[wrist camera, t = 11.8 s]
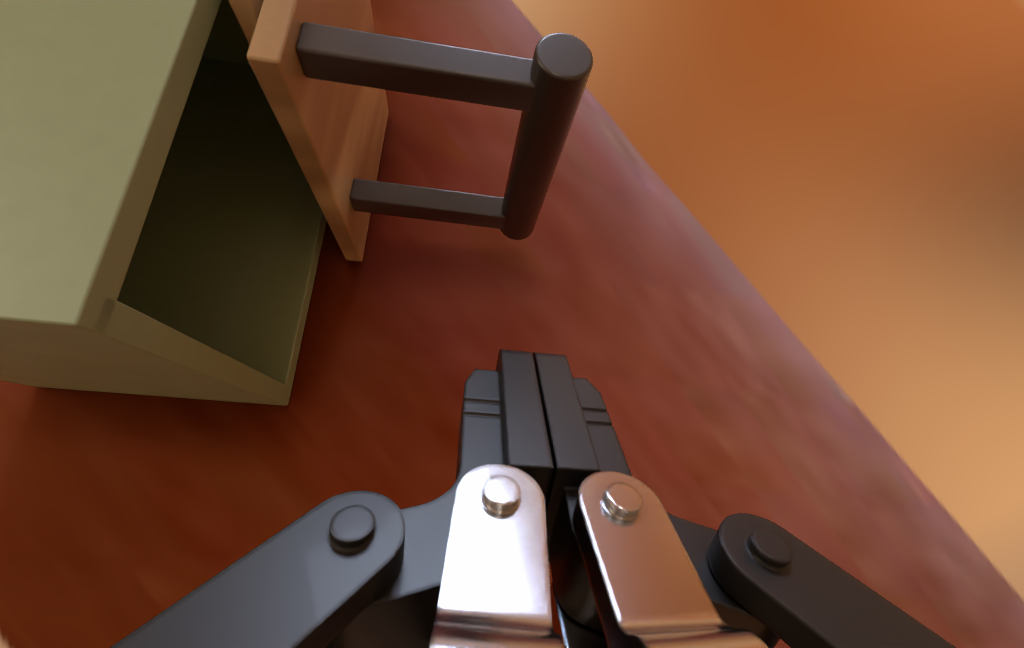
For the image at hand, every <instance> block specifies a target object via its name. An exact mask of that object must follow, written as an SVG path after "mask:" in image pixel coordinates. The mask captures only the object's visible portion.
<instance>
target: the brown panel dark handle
mask: <svg viewBox="0 0 1024 648" xmlns="http://www.w3.org/2000/svg"><path fill="white" fill-rule="evenodd" d="M247 60H248V62H249V64H250V66H251V68H252V70H253V72H254V74H255V76H256V78H257V80H258V82H259V84H260V86H261V88H262V90H263V92H264V94H265V96H266V98H267V100H268V102H269V105H270V107H271V109H272V111H273V113H274V115H275V117H276V119H277V121H278V123H279V125H280V127H281V129H282V131H283V133H284V135H285V137H286V139H287V141H288V143H289V145H290V147H291V149H292V151H293V153H294V155H295V157H296V159H297V161H298V163H299V165H300V168H301V170H302V172H303V174H304V176H305V178H306V180H307V182H308V184H309V186H310V188H311V190H312V192H313V194H314V196H315V198H316V200H317V202H318V204H319V206H320V208H321V210H322V212H323V214H324V216H325V218H326V220H327V222H328V224H329V226H330V228H331V231H332V233H333V235H334V237H335V239H336V241H337V243H338V245H339V247H340V249H341V251H342V253H343V255H344V257H345V259H346V260H350V261H359V262H361V261H362V260H363V254H364V249H365V243H366V237H367V232H368V226H369V220H370V215H371V213H376V214H384V215H392V216H401V217H409V218H417V219H425V220H433V221H441V222H450V223H458V224H466V225H474V226H482V227H490V228H499V229H501V231H502V232H503V234H504V235H505V236H507V237H508V238H511V239H514V240H521V239H524V238H527V237H528V236H529V235H530V234H531V233H532V231H533V229H534V226H535V224H536V221H537V218H538V215H539V213H540V210H541V207H542V204H543V202H544V199H545V196H546V193H547V191H548V188H549V185H550V182H551V180H552V177H553V174H554V171H555V169H556V166H557V163H558V160H559V158H560V155H561V152H562V149H563V147H564V144H565V141H566V138H567V136H568V133H569V130H570V127H571V125H572V122H573V119H574V116H575V114H576V111H577V108H578V105H579V103H580V100H581V97H582V94H583V92H584V89H585V86H586V83H587V81H588V77H589V75H590V72H591V69H592V66H593V57H592V53H591V51H590V49H589V48H588V47H587V45H586V44H585V43H584V42H583V41H582V40H580V39H578V38H577V37H575V36H573V35H570V34H565V33H554V34H550V35H547V36H545V37H544V38H542V39H541V40H540V41H539V43H538V44H537V46H536V48H535V51H534V56H533V59H528V58H522V57H516V56H510V55H504V54H498V53H491V52H485V51H479V50H473V49H467V48H461V47H455V46H449V45H443V44H437V43H431V42H425V41H419V40H413V39H407V38H400V37H394V36H388V35H382V34H376V31H375V25H374V19H373V13H372V7H371V1H370V0H264V1H263V4H262V7H261V10H260V13H259V17H258V20H257V23H256V26H255V30H254V33H253V36H252V39H251V42H250V46H249V49H248V52H247ZM385 90H390V91H397V92H403V93H410V94H417V95H423V96H430V97H436V98H443V99H449V100H456V101H463V102H469V103H476V104H482V105H489V106H495V107H502V108H509V109H515V110H522V113H521V118H520V123H519V128H518V132H517V137H516V142H515V147H514V151H513V156H512V161H511V166H510V170H509V175H508V180H507V185H506V189H505V194H504V198H503V197H495V196H487V195H480V194H472V193H464V192H457V191H449V190H441V189H433V188H426V187H418V186H410V185H403V184H395V183H387V182H380V181H377V175H378V170H379V164H380V158H381V153H382V147H383V142H384V136H385V130H386V125H387V119H388V113H389V110H388V103H387V97H386V91H385Z"/></svg>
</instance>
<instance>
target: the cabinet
mask: <svg viewBox="0 0 1024 648" xmlns="http://www.w3.org/2000/svg"><path fill="white" fill-rule="evenodd" d="M263 1H264V0H0V380H2V381H8V382H13V383H18V384H23V385H29V386H34V387H45V388H58V389H71V390H85V391H98V392H111V393H124V394H138V395H151V396H164V397H177V398H190V399H204V400H217V401H230V402H243V403H256V404H270V405H283V406H287V405H288V403H289V399H290V394H291V389H292V384H293V379H294V375H295V370H296V365H297V360H298V356H299V351H300V346H301V341H302V337H303V332H304V327H305V322H306V318H307V313H308V308H309V303H310V298H311V294H312V289H313V284H314V279H315V275H316V270H317V265H318V260H319V256H320V251H321V246H322V241H323V237H324V232H325V227H326V222H327V220H326V218H325V216H324V214H323V212H322V210H321V208H320V206H319V204H318V202H317V200H316V198H315V196H314V194H313V192H312V190H311V188H310V186H309V184H308V182H307V180H306V178H305V176H304V174H303V172H302V170H301V168H300V165H299V163H298V161H297V159H296V157H295V155H294V153H293V151H292V149H291V147H290V145H289V143H288V141H287V139H286V137H285V135H284V133H283V131H282V129H281V127H280V125H279V123H278V121H277V119H276V117H275V115H274V113H273V111H272V109H271V107H270V105H269V102H268V100H267V98H266V96H265V94H264V92H263V90H262V88H261V86H260V84H259V82H258V80H257V78H256V76H255V74H254V72H253V70H252V68H251V66H250V64H249V62H248V60H247V52H248V49H249V46H250V42H251V39H252V36H253V33H254V30H255V26H256V23H257V20H258V17H259V13H260V10H261V7H262V4H263Z"/></svg>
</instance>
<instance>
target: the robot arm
mask: <svg viewBox="0 0 1024 648" xmlns="http://www.w3.org/2000/svg"><path fill="white" fill-rule="evenodd" d="M606 410H607V409H606V406H605V404H604V401H603V399H602V396H601V393H600V392H599V391H598V390H597V389H596V388H595V387H594V386H593V385H592V384H591V383H590V382H589V381H588V380H587V379H583V378H573V377H572V374H571V371H570V367H569V364H568V361H567V358H566V356H565V355H556V354H545V353H535V352H534V353H533V354H532V352H523V351H512V350H501V349H500V351H499V354H498V360H497V366H496V371H491V370H479V369H475V370H474V372H473V373H472V374H471V375H470V377H469V378H468V379H467V380H466V382H465V388H464V396H463V405H462V413H461V422H460V431H459V442H458V457H457V472H456V482H455V483H454V485H453V486H452V487H451V488H450V489H449V491H447V492H446V493H445V494H444V495H442V496H441V497H439V498H437V499H436V500H433V501H431V502H429V503H425V504H422V505H418V506H414V507H410V508H405V509H401V510H400V508H399V507H398V506H397V504H395V503H394V502H393V501H392V500H391V499H389V498H388V497H386V496H384V495H382V494H379V493H375V492H371V491H351V492H346V493H342V494H339V495H336V496H334V497H331V498H329V499H327V500H326V501H324V502H322V503H321V504H319V505H318V506H316V507H315V508H313V509H312V510H310V511H309V512H308V513H306V514H305V515H303V516H302V517H300V518H299V519H297V520H296V521H294V522H293V523H291V524H290V525H289V526H287V527H286V528H284V529H283V530H281V531H280V532H278V533H277V534H275V535H274V536H272V537H271V538H270V539H268V540H267V541H265V542H264V543H262V544H261V545H259V546H258V547H256V548H255V549H253V550H252V551H251V552H249V553H248V554H246V555H245V556H243V557H242V558H240V559H239V560H237V561H236V562H234V563H233V564H232V565H230V566H229V567H227V568H226V569H224V570H223V571H221V572H220V573H218V574H217V575H215V576H214V577H213V578H211V579H210V580H208V581H207V582H205V583H204V584H202V585H201V586H199V587H198V588H196V589H195V590H194V591H192V592H191V593H189V594H188V595H186V596H185V597H183V598H182V599H180V600H179V601H177V602H176V603H175V604H173V605H172V606H170V607H169V608H167V609H166V610H164V611H163V612H161V613H160V614H158V615H157V616H156V617H154V618H153V619H151V620H150V621H148V622H147V623H145V624H144V625H142V626H141V627H140V628H138V629H137V630H135V631H134V632H132V633H131V634H129V635H128V636H126V637H125V638H123V639H122V640H121V641H119V642H118V643H116V644H115V645H113V646H112V647H110V648H774V647H775V645H776V644H777V642H778V641H779V640H780V639H782V640H783V641H784V642H785V643H786V644H788V645H789V646H790V647H791V648H956V647H954V646H953V645H951V644H950V643H949V642H947V641H946V640H944V639H943V638H941V637H940V636H938V635H937V634H935V633H934V632H933V631H931V630H930V629H928V628H927V627H925V626H924V625H922V624H921V623H920V622H918V621H917V620H915V619H914V618H912V617H911V616H909V615H908V614H906V613H905V612H904V611H902V610H901V609H899V608H898V607H896V606H895V605H893V604H892V603H891V602H889V601H888V600H886V599H885V598H883V597H882V596H880V595H879V594H878V593H876V592H875V591H873V590H872V589H870V588H869V587H867V586H866V585H864V584H863V583H862V582H860V581H859V580H857V579H856V578H854V577H853V576H851V575H850V574H849V573H847V572H846V571H844V570H843V569H841V568H840V567H838V566H837V565H835V564H834V563H833V562H831V561H830V560H828V559H827V558H825V557H824V556H822V555H821V554H820V553H818V552H817V551H815V550H814V549H812V548H811V547H809V546H808V545H806V544H805V543H804V542H802V541H801V540H799V539H798V538H796V537H795V536H793V535H792V534H791V533H789V532H788V531H786V530H785V529H783V528H782V527H780V526H778V525H777V524H775V523H773V522H771V521H769V520H767V519H764V518H762V517H759V516H756V515H752V514H745V513H738V514H733V515H730V516H728V517H726V518H725V519H724V520H723V521H722V523H721V525H720V527H719V529H718V530H714V529H711V528H708V527H705V526H702V525H699V524H696V523H693V522H690V521H687V520H684V519H681V518H678V517H676V516H673V515H671V514H669V513H667V512H666V511H665V509H664V507H663V505H662V503H661V502H660V500H659V498H658V497H657V496H656V494H655V493H654V492H653V491H652V490H651V489H650V488H649V487H648V486H646V485H645V484H644V483H642V482H641V481H639V480H638V479H636V478H634V477H632V475H631V472H630V469H629V467H628V464H627V461H626V459H625V456H624V454H623V451H622V448H621V446H620V443H619V440H618V438H617V435H616V433H615V430H614V427H613V426H612V422H611V420H610V417H609V414H608V413H607V412H606ZM548 562H550V564H551V571H552V578H553V581H552V584H551V588H550V580H549V563H548Z"/></svg>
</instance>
